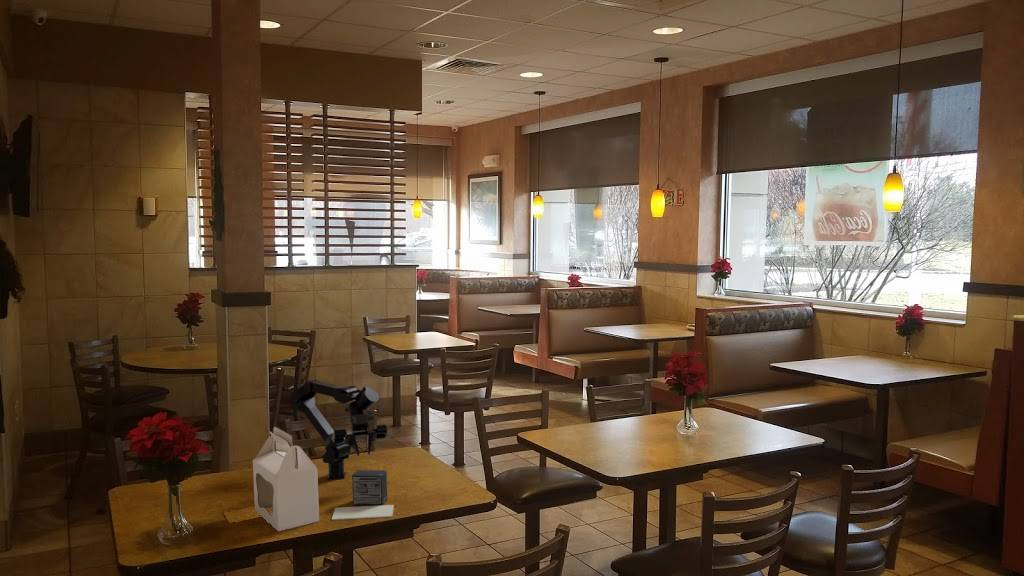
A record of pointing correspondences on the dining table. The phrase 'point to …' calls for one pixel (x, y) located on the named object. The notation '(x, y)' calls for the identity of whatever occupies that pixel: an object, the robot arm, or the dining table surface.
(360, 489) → the small box
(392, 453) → the dining table surface
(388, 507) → the mat
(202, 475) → the dining table surface
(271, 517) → the gable box
